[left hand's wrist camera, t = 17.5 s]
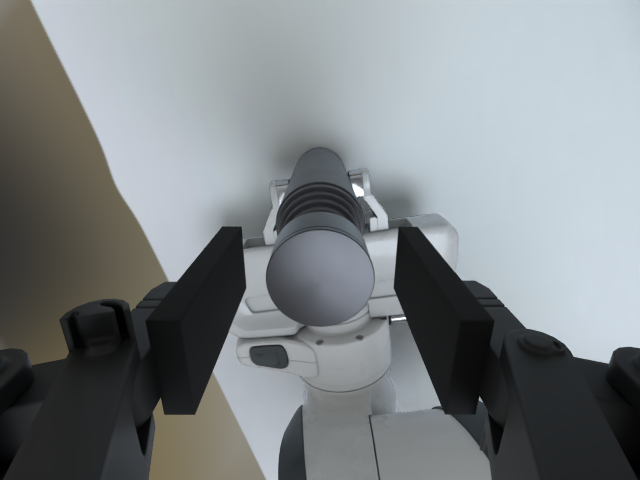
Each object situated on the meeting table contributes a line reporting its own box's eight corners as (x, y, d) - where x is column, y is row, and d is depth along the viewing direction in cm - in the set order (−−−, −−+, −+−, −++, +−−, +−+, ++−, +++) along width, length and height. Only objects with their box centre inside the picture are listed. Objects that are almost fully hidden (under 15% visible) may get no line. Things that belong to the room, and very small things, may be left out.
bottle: (326, 137, 32) (338, 188, 12) (353, 179, 33) (406, 289, 13) (285, 166, 33) (231, 259, 13) (313, 205, 34) (305, 347, 14)
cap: (254, 256, 14) (242, 281, 12) (320, 190, 13) (320, 206, 11) (320, 313, 15) (320, 344, 13) (386, 256, 14) (397, 280, 12)
